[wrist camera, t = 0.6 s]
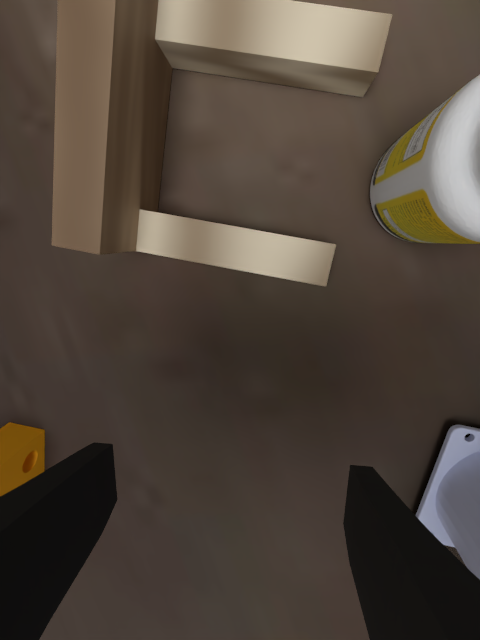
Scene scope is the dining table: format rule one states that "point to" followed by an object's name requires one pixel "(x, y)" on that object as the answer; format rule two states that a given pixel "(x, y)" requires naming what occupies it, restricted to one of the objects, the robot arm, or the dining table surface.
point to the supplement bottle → (434, 175)
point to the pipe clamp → (20, 455)
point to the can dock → (152, 111)
